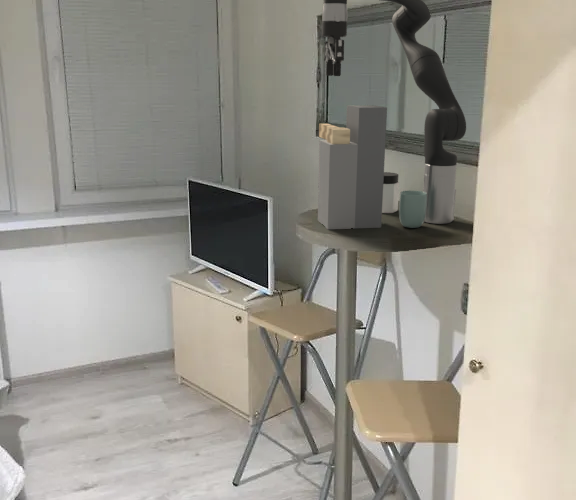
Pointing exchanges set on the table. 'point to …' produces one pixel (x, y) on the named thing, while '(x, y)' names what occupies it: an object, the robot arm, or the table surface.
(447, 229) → the table surface
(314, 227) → the table surface
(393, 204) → the jar
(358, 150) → the stand
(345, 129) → the tan wooden bar piece
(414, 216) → the cup
